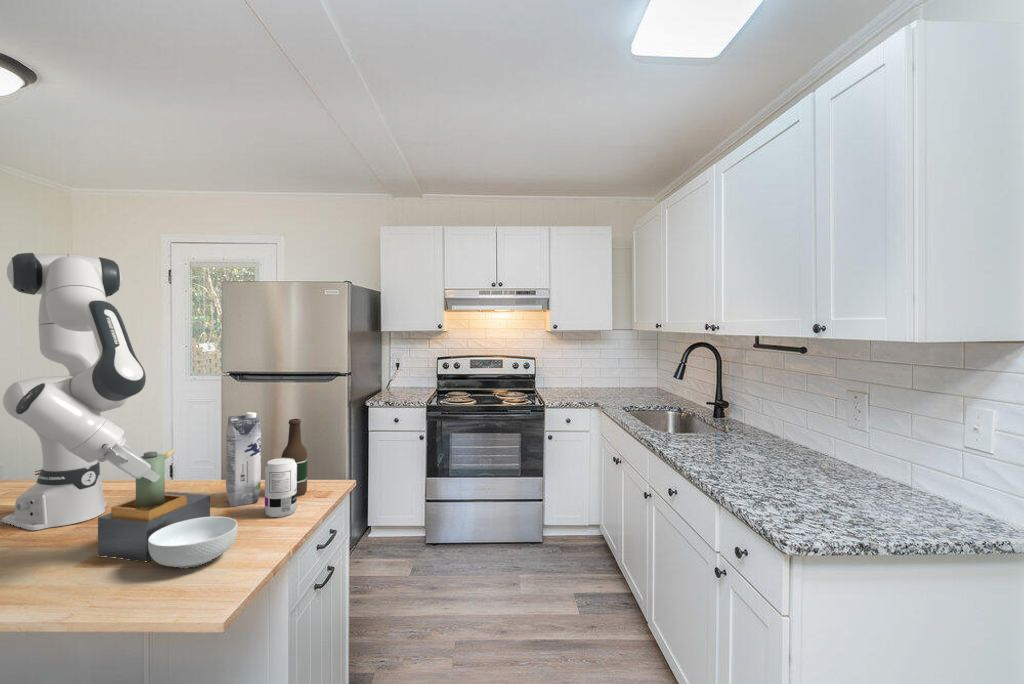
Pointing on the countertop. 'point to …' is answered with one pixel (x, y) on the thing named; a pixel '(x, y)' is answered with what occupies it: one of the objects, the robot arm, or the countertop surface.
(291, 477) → the supplement can
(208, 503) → the box
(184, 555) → the cereal bowl
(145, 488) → the oil can
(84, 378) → the robot arm
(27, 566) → the countertop surface
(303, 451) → the beer bottle
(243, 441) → the juice carton
